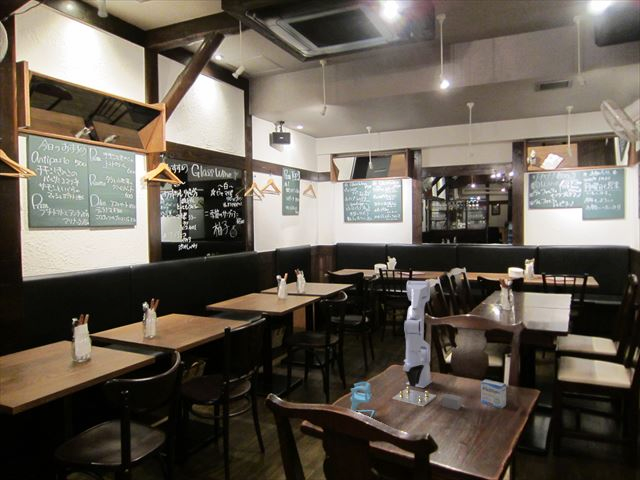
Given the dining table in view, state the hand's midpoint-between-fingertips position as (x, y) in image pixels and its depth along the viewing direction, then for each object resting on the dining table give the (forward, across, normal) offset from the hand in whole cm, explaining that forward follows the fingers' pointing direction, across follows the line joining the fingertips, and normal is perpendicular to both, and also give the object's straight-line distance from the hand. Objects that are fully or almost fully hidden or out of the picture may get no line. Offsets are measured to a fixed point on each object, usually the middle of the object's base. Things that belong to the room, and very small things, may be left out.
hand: (414, 384), depth 172 cm
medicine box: (+6, -11, +27) cm, 30 cm away
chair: (+6, +25, -9) cm, 27 cm away
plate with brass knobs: (+6, 0, 0) cm, 6 cm away
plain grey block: (+6, 0, +15) cm, 16 cm away
